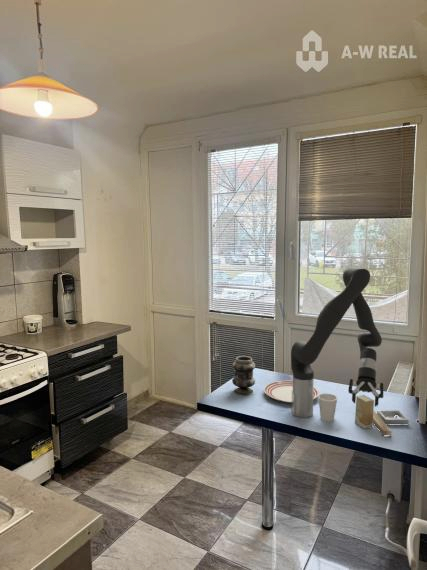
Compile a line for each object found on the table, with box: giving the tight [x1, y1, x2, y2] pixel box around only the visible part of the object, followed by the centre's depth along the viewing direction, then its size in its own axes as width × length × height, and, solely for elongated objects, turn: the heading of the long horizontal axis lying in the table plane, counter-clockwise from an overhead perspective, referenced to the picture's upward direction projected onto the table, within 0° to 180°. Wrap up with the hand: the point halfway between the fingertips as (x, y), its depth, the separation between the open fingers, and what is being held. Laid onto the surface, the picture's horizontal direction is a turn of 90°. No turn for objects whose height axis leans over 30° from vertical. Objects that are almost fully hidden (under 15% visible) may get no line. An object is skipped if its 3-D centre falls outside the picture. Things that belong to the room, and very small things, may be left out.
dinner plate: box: [263, 380, 320, 404], centre depth 200 cm, size 27×27×3 cm
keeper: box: [376, 409, 410, 425], centre depth 172 cm, size 10×10×2 cm
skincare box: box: [354, 394, 375, 429], centre depth 167 cm, size 6×4×12 cm
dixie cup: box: [317, 392, 338, 422], centre depth 174 cm, size 8×8×10 cm
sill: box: [373, 409, 392, 436], centre depth 167 cm, size 3×20×2 cm, turn 178°
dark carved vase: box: [231, 355, 256, 396], centre depth 205 cm, size 12×12×18 cm
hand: (364, 404), depth 168 cm, fingers open, 8 cm apart
